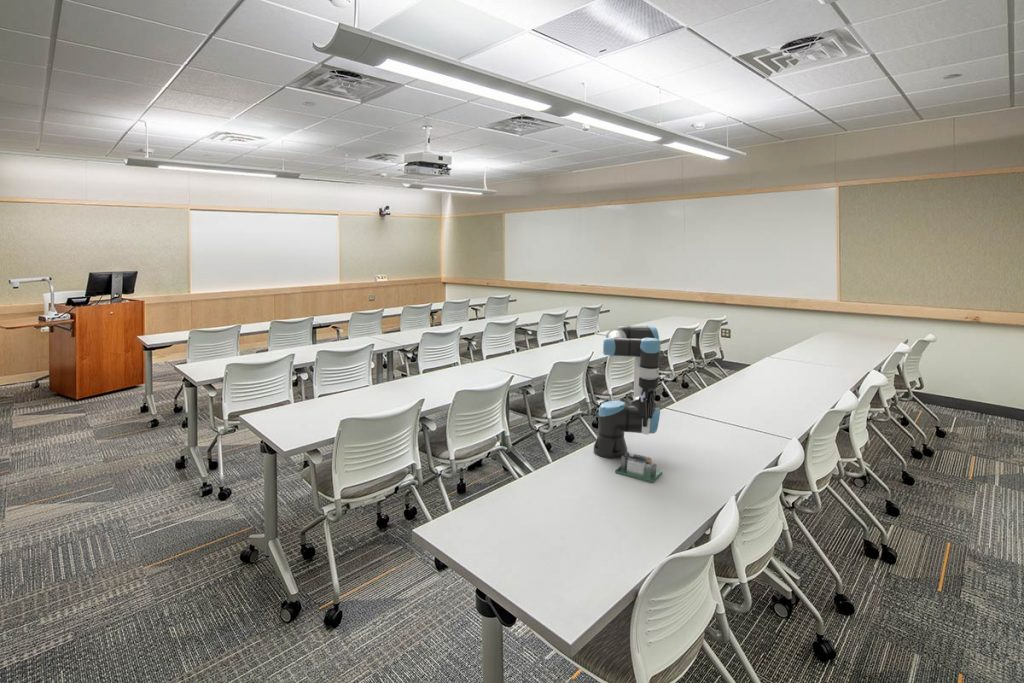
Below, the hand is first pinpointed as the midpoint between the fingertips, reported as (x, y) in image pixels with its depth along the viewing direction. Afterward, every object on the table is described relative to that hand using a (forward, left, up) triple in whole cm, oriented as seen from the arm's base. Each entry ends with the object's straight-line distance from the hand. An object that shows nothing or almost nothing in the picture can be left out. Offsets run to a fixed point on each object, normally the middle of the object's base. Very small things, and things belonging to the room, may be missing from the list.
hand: (645, 433), depth 211 cm
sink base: (-2, 0, -18) cm, 18 cm away
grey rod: (-3, 0, -12) cm, 13 cm away
